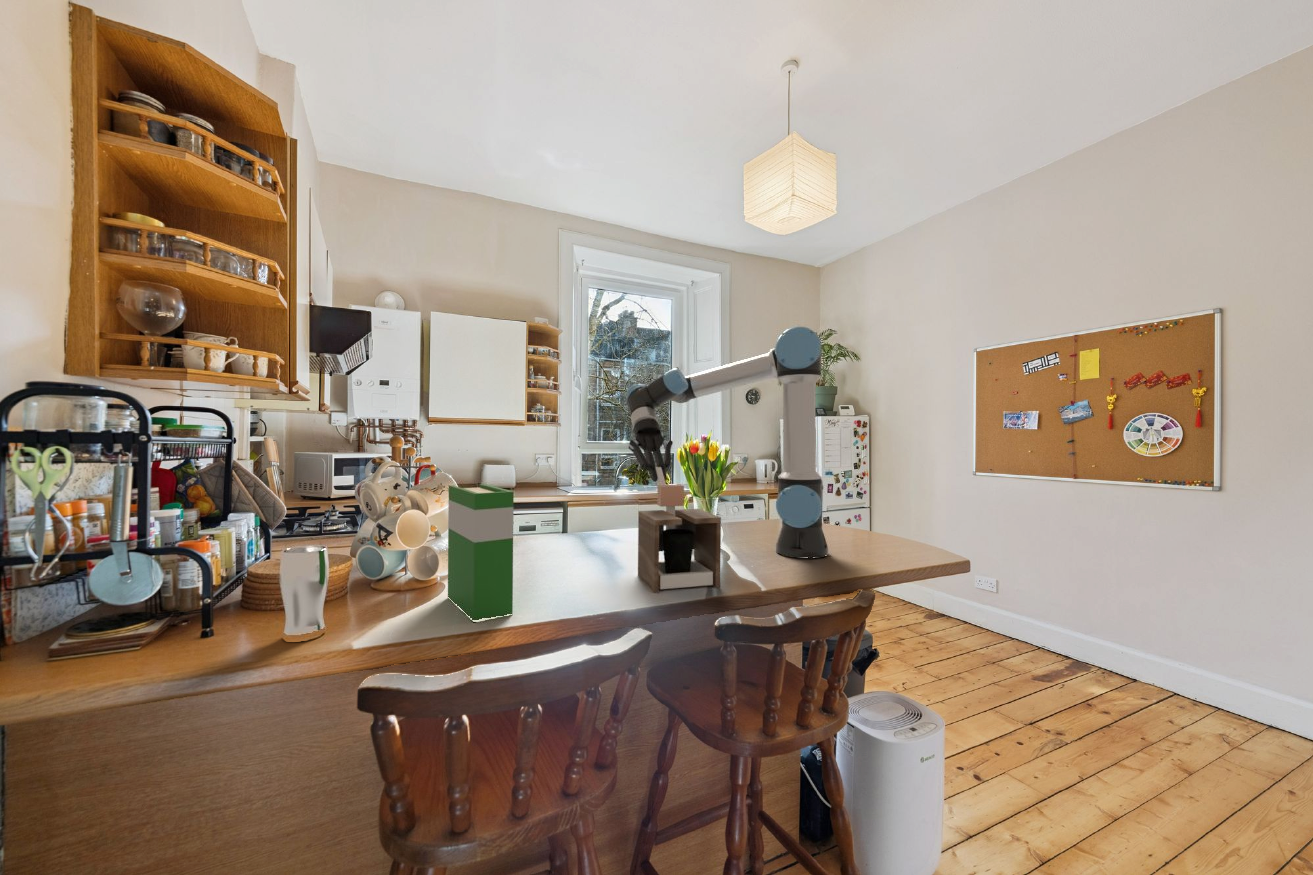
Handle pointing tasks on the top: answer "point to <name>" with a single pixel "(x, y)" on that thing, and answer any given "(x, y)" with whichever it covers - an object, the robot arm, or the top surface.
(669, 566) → the cup
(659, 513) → the tunnel
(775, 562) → the top surface
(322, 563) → the beer glass
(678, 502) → the slider
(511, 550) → the hardback book
